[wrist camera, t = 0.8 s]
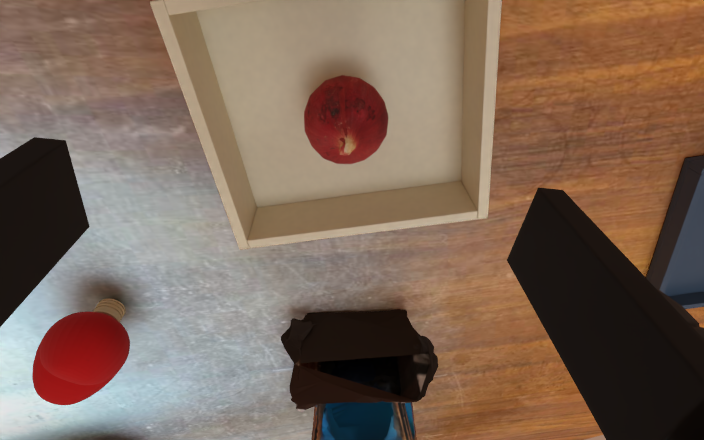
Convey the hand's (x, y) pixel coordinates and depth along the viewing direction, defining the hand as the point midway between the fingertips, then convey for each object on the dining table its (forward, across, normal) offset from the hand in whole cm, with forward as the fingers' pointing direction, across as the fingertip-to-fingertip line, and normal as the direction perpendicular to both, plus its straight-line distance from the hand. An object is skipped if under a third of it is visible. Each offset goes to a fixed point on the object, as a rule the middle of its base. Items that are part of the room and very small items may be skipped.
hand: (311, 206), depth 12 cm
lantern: (+21, +7, -36) cm, 43 cm away
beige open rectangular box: (+21, +2, -3) cm, 21 cm away
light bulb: (+21, -19, -27) cm, 39 cm away
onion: (+21, +2, -3) cm, 21 cm away
